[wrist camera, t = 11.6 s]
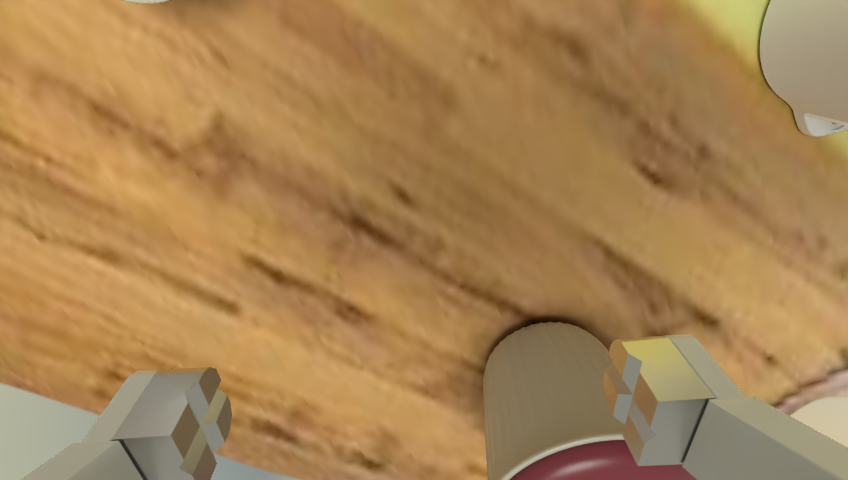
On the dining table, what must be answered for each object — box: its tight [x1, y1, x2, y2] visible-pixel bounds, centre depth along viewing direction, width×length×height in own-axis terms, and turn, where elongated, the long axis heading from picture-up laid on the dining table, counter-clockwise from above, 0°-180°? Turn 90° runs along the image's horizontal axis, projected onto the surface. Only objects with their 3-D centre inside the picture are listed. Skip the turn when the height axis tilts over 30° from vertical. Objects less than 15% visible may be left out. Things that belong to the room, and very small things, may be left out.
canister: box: [483, 322, 697, 480], centre depth 40 cm, size 18×18×21 cm
